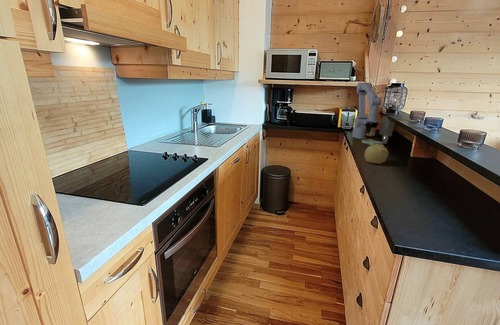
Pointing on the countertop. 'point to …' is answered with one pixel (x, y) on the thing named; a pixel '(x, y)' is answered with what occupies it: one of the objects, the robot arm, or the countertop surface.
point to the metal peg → (385, 139)
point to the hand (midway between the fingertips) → (370, 132)
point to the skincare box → (386, 127)
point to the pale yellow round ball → (376, 154)
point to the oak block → (371, 132)
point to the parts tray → (371, 142)
